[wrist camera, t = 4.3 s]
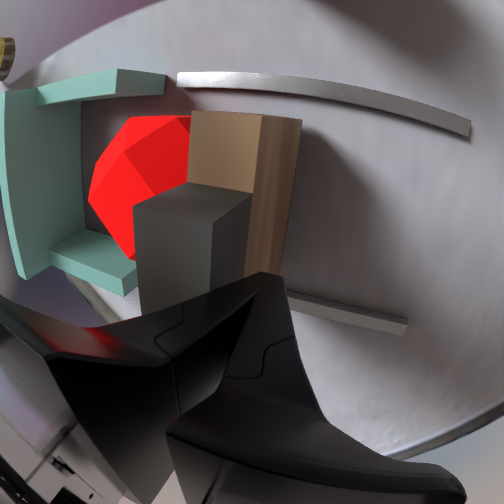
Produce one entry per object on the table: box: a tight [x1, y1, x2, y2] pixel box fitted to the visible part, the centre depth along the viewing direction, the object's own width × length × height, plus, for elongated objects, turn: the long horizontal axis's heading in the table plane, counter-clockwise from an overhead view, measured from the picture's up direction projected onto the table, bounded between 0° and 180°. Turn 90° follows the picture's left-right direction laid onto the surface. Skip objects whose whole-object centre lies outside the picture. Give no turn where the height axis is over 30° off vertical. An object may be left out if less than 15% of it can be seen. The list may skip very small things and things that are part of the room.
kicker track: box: [177, 72, 471, 336], centre depth 18 cm, size 18×15×1 cm
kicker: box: [132, 111, 302, 315], centre depth 13 cm, size 2×10×11 cm, turn 173°
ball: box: [88, 115, 191, 261], centre depth 16 cm, size 8×8×8 cm
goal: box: [0, 69, 166, 297], centre depth 18 cm, size 10×15×8 cm
